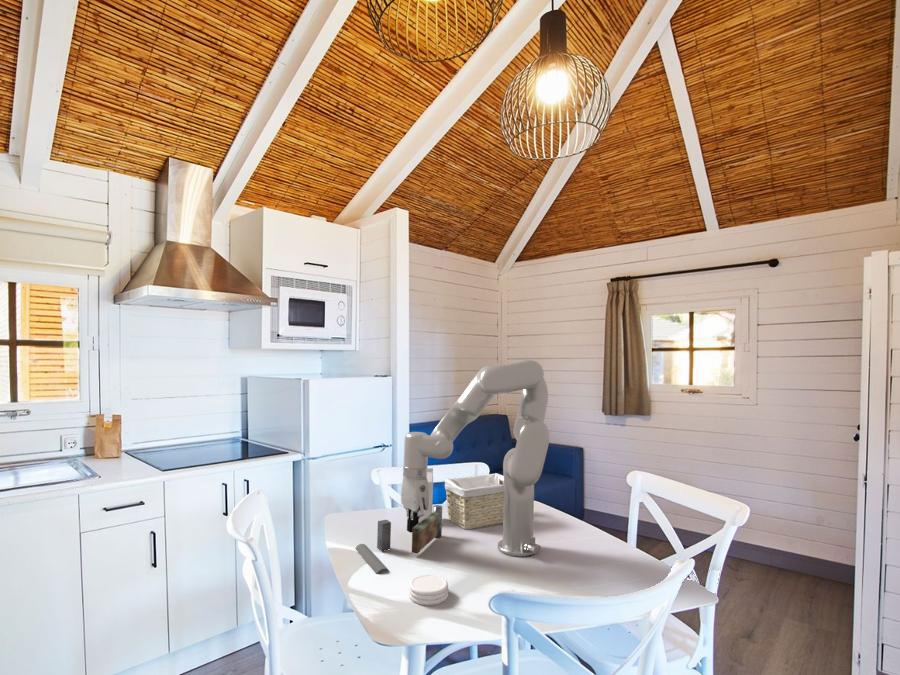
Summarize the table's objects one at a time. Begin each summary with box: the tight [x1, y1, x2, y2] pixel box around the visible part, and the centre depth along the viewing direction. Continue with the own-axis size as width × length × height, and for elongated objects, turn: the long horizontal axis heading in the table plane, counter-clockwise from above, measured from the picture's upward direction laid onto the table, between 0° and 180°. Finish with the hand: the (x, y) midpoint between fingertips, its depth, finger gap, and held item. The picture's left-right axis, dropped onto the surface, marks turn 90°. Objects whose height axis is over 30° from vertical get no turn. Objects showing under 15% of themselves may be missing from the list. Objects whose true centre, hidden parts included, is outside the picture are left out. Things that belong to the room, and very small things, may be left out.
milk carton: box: [419, 467, 434, 523], centre depth 182 cm, size 7×7×19 cm
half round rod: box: [354, 543, 390, 575], centre depth 148 cm, size 4×20×2 cm, turn 28°
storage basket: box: [444, 472, 504, 530], centre depth 185 cm, size 24×16×15 cm
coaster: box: [408, 574, 449, 606], centre depth 127 cm, size 10×10×4 cm
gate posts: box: [376, 504, 443, 552], centre depth 161 cm, size 3×23×10 cm, turn 125°
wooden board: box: [411, 512, 438, 554], centre depth 158 cm, size 16×2×7 cm, turn 159°
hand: (412, 530), depth 156 cm, fingers closed
